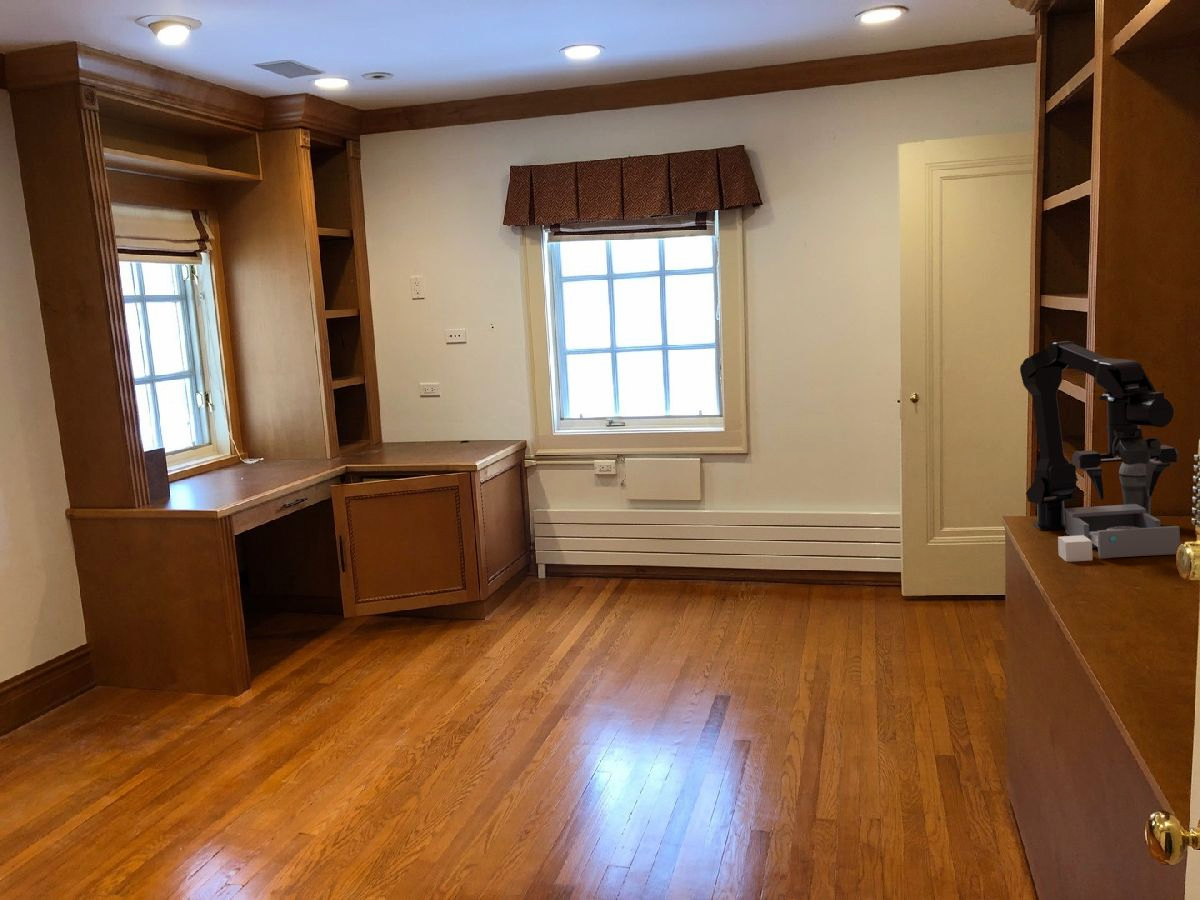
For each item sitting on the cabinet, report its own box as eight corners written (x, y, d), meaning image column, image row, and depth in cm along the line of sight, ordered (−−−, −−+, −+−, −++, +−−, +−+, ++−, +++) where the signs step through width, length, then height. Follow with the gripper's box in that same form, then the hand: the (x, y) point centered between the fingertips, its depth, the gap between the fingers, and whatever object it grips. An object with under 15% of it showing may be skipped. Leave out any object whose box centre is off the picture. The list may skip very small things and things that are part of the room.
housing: (1065, 533, 220) (1064, 508, 219) (1136, 529, 217) (1136, 503, 217) (1084, 548, 207) (1083, 521, 206) (1160, 543, 205) (1160, 516, 204)
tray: (1078, 542, 211) (1078, 517, 210) (1153, 538, 208) (1153, 512, 208) (1100, 558, 198) (1100, 532, 197) (1181, 554, 195) (1180, 527, 194)
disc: (1113, 544, 201) (1112, 534, 201) (1102, 536, 208) (1101, 527, 208) (1150, 542, 200) (1149, 532, 199) (1137, 534, 207) (1137, 525, 206)
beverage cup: (1147, 519, 225) (1145, 433, 222) (1162, 526, 218) (1160, 437, 215) (1114, 521, 226) (1112, 435, 223) (1127, 528, 219) (1125, 440, 216)
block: (1058, 555, 204) (1058, 536, 203) (1084, 553, 203) (1083, 535, 202) (1066, 561, 199) (1065, 542, 198) (1092, 560, 198) (1091, 541, 198)
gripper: (1087, 432, 194) (1090, 509, 196) (1189, 424, 191) (1191, 502, 193) (1070, 425, 205) (1072, 498, 207) (1166, 417, 202) (1167, 491, 204)
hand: (1125, 497), depth 202 cm, fingers open, 9 cm apart
